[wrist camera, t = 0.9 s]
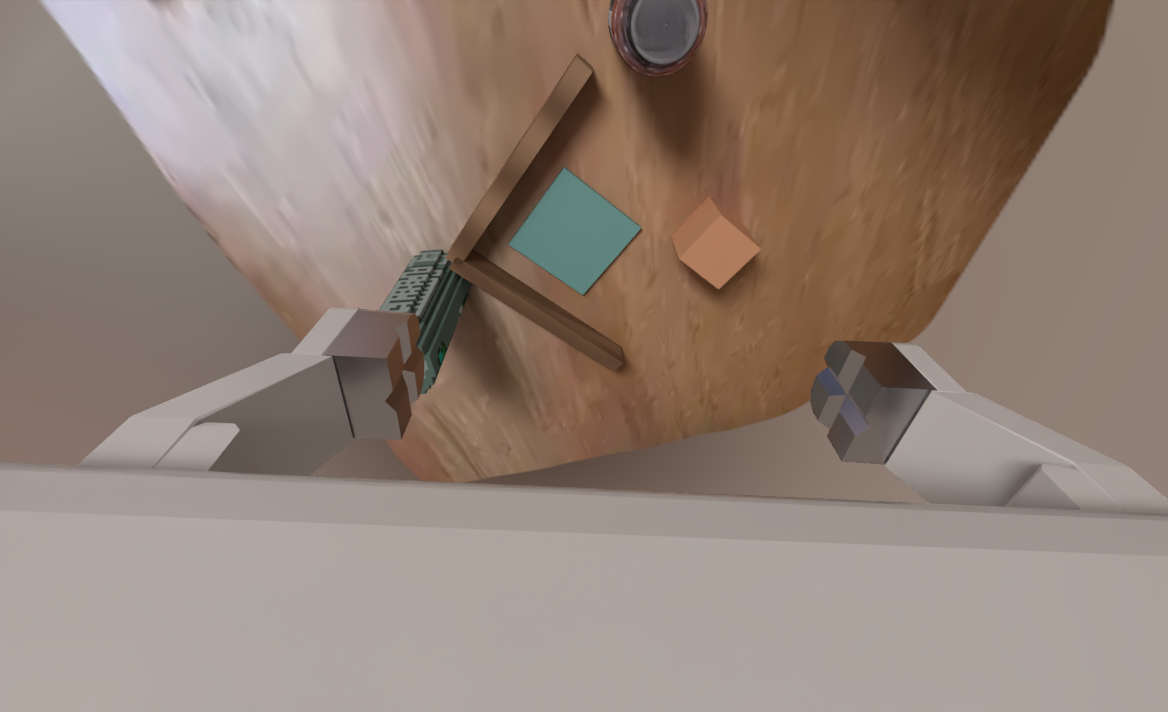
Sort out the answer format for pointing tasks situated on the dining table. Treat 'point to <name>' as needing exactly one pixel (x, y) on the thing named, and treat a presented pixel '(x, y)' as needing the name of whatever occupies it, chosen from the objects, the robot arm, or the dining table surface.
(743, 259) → the cube
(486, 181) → the dining table surface
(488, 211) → the wooden l-shaped wall
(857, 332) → the dining table surface
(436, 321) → the can
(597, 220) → the pad
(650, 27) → the supplement bottle
